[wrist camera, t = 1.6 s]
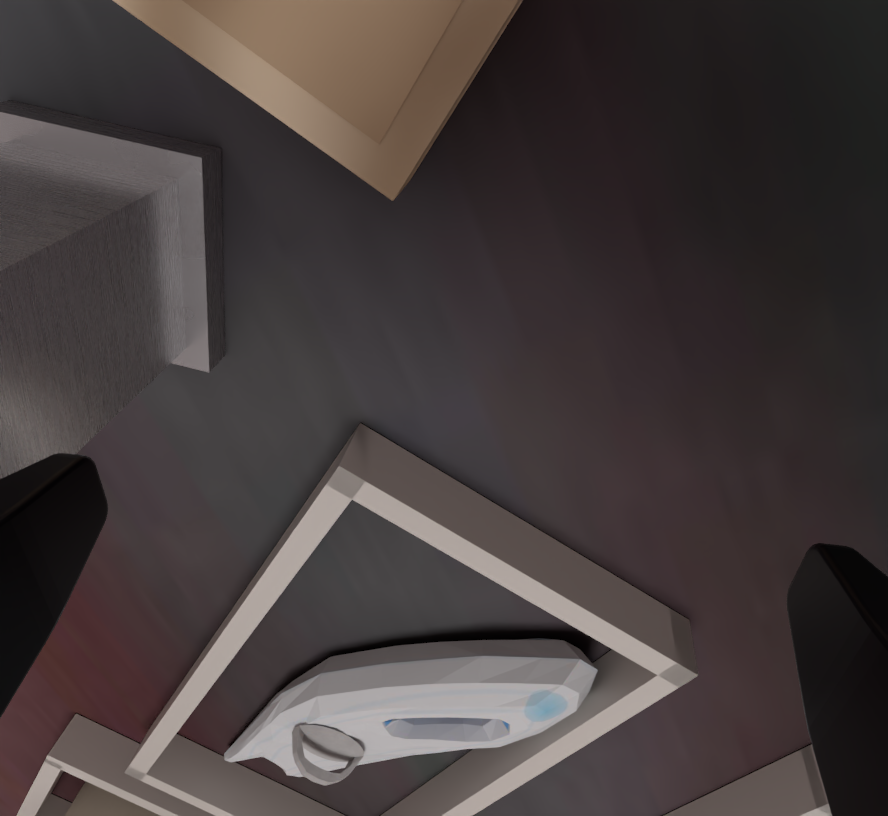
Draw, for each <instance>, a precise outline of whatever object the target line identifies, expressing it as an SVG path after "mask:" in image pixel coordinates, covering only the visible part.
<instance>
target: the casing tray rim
mask: <svg viewBox="0 0 888 816" xmlns="http://www.w3.org/2000/svg"><path fill="white" fill-rule="evenodd" d="M351 500H354V501H356V502H357V503H359V504H361V505H363V506H364V507H366V508H368V509H370V510H371V511H373V512H375V513H377V514H378V515H380V516H382V517H383V518H385V519H387V520H389V521H390V522H392V523H394V524H396V525H397V526H399V527H401V528H403V529H404V530H406V531H408V532H410V533H411V534H413V535H415V536H416V537H418V538H420V539H422V540H423V541H425V542H427V543H429V544H430V545H432V546H434V547H436V548H437V549H439V550H441V551H443V552H444V553H446V554H448V555H449V556H451V557H453V558H455V559H456V560H458V561H460V562H462V563H463V564H465V565H467V566H469V567H470V568H472V569H474V570H476V571H477V572H479V573H481V574H482V575H484V576H486V577H488V578H489V579H491V580H493V581H495V582H496V583H498V584H500V585H502V586H503V587H505V588H507V589H509V590H510V591H512V592H514V593H515V594H517V595H519V596H521V597H522V598H524V599H526V600H528V601H529V602H531V603H533V604H535V605H536V606H538V607H540V608H542V609H543V610H545V611H547V612H548V613H550V614H552V615H554V616H555V617H557V618H559V619H561V620H562V621H564V622H566V623H568V624H569V625H571V626H573V627H575V628H576V629H578V630H580V631H581V632H583V633H585V634H587V635H588V636H590V637H592V638H594V639H595V640H597V641H599V642H601V643H602V644H604V645H606V646H608V647H609V648H611V649H612V650H610V651H609V652H608V653H606V654H605V655H603V656H602V657H601V658H599V659H598V660H596V661H595V662H594V663H592V664H593V665H594V666H595V667H596V668H597V670H598V671H597V673H596V676H595V678H594V681H593V683H592V686H591V689H590V691H589V693H588V694H587V696H586V697H585V699H584V700H583V702H582V703H581V705H580V706H579V708H578V709H577V711H575V712H574V713H572V714H571V715H569V716H567V717H566V718H564V719H562V720H561V721H559V722H558V723H556V724H554V725H553V726H551V727H549V728H548V729H546V730H545V731H543V732H541V733H539V734H536V735H533V736H530V737H527V738H524V739H521V740H519V741H516V742H513V743H510V744H507V745H504V746H501V747H495V748H477V749H473V750H471V751H470V752H468V753H467V754H466V755H464V756H463V757H461V758H460V759H459V760H457V761H456V762H454V763H453V764H452V765H450V766H449V767H448V768H446V769H445V770H443V771H442V772H441V773H439V774H438V775H436V776H435V777H434V778H432V779H431V780H429V781H428V782H427V783H425V784H424V785H422V786H421V787H420V788H418V789H417V790H415V791H414V792H413V793H411V794H410V795H409V796H407V797H406V798H404V799H403V800H402V801H400V802H399V803H397V804H396V805H395V806H393V807H392V808H390V809H389V810H388V811H386V812H385V813H383V814H382V815H381V816H472V815H474V814H476V813H477V812H479V811H481V810H482V809H484V808H485V807H487V806H489V805H490V804H492V803H493V802H495V801H497V800H498V799H500V798H502V797H503V796H505V795H506V794H508V793H510V792H511V791H513V790H514V789H516V788H518V787H519V786H521V785H523V784H524V783H526V782H527V781H529V780H531V779H532V778H534V777H535V776H537V775H539V774H540V773H542V772H543V771H545V770H547V769H548V768H550V767H552V766H553V765H555V764H556V763H558V762H560V761H561V760H563V759H564V758H566V757H568V756H569V755H571V754H573V753H574V752H576V751H577V750H579V749H581V748H582V747H584V746H585V745H587V744H589V743H590V742H592V741H594V740H595V739H597V738H598V737H600V736H602V735H603V734H605V733H606V732H608V731H610V730H611V729H613V728H615V727H616V726H618V725H619V724H621V723H623V722H624V721H626V720H627V719H629V718H631V717H632V716H634V715H635V714H637V713H639V712H640V711H642V710H644V709H645V708H647V707H648V706H650V705H652V704H653V703H655V702H656V701H658V700H660V699H661V698H663V697H665V696H666V695H668V694H669V693H671V692H673V691H674V690H676V689H677V688H679V687H681V686H682V685H684V684H686V683H687V682H689V681H690V680H692V679H694V678H695V677H697V676H698V670H697V663H696V657H695V651H694V645H693V639H692V633H691V626H690V620H689V619H687V618H685V617H684V616H682V615H680V614H679V613H677V612H675V611H674V610H672V609H670V608H669V607H667V606H665V605H663V604H662V603H660V602H658V601H657V600H655V599H653V598H652V597H650V596H648V595H647V594H645V593H643V592H642V591H640V590H638V589H637V588H635V587H633V586H632V585H630V584H628V583H627V582H625V581H623V580H622V579H620V578H618V577H617V576H615V575H613V574H612V573H610V572H608V571H607V570H605V569H603V568H602V567H600V566H598V565H597V564H595V563H593V562H592V561H590V560H588V559H587V558H585V557H583V556H582V555H580V554H578V553H577V552H575V551H573V550H572V549H570V548H568V547H567V546H565V545H563V544H562V543H560V542H558V541H557V540H555V539H553V538H552V537H550V536H548V535H547V534H545V533H543V532H542V531H540V530H538V529H537V528H535V527H533V526H532V525H530V524H528V523H527V522H525V521H523V520H522V519H520V518H518V517H517V516H515V515H513V514H512V513H510V512H508V511H507V510H505V509H503V508H502V507H500V506H498V505H497V504H495V503H493V502H492V501H490V500H488V499H487V498H485V497H483V496H482V495H480V494H478V493H477V492H475V491H473V490H472V489H470V488H468V487H466V486H465V485H463V484H461V483H460V482H458V481H456V480H455V479H453V478H451V477H450V476H448V475H446V474H445V473H443V472H441V471H440V470H438V469H436V468H435V467H433V466H431V465H430V464H428V463H426V462H425V461H423V460H421V459H420V458H418V457H416V456H415V455H413V454H411V453H410V452H408V451H406V450H405V449H403V448H401V447H400V446H398V445H396V444H395V443H393V442H391V441H390V440H388V439H386V438H385V437H383V436H381V435H380V434H378V433H376V432H375V431H373V430H371V429H370V428H368V427H366V426H365V425H363V424H361V423H360V424H359V425H358V427H357V428H356V430H355V431H354V433H353V434H352V435H351V437H350V438H349V440H348V441H347V443H346V444H345V446H344V447H343V449H342V450H341V451H340V453H339V454H338V456H337V457H336V459H335V460H334V462H333V463H332V465H331V466H330V467H329V469H328V470H327V472H326V473H325V475H324V476H323V478H322V479H321V480H320V482H319V483H318V485H317V486H316V488H315V489H314V491H313V492H312V494H311V495H310V496H309V498H308V499H307V501H306V502H305V504H304V505H303V507H302V508H301V509H300V511H299V512H298V514H297V515H296V517H295V518H294V520H293V521H292V523H291V524H290V525H289V527H288V528H287V530H286V531H285V533H284V534H283V536H282V537H281V539H280V540H279V541H278V543H277V544H276V546H275V547H274V549H273V550H272V552H271V553H270V554H269V556H268V557H267V559H266V560H265V562H264V563H263V565H262V566H261V568H260V569H259V570H258V572H257V573H256V575H255V576H254V578H253V579H252V581H251V582H250V583H249V585H248V586H247V588H246V589H245V591H244V592H243V594H242V595H241V597H240V598H239V599H238V601H237V602H236V604H235V605H234V607H233V608H232V610H231V611H230V613H229V614H228V615H227V617H226V618H225V620H224V621H223V623H222V624H221V626H220V627H219V628H218V630H217V631H216V633H215V634H214V636H213V637H212V639H211V640H210V642H209V643H208V644H207V646H206V647H205V649H204V650H203V652H202V653H201V655H200V656H199V657H198V659H197V660H196V662H195V663H194V665H193V666H192V668H191V669H190V671H189V672H188V673H187V675H186V676H185V678H184V679H183V681H182V682H181V684H180V685H179V687H178V688H177V689H176V691H175V692H174V694H173V695H172V697H171V698H170V700H169V701H168V702H167V704H166V705H165V707H164V708H163V710H162V711H161V713H160V714H159V716H158V717H157V718H156V720H155V721H154V723H153V724H152V726H151V727H150V729H149V730H148V732H147V734H146V735H145V737H144V739H143V741H142V742H141V744H140V746H139V748H138V749H137V751H136V753H135V755H134V756H133V758H132V760H131V762H130V763H129V765H128V767H127V769H126V770H125V772H124V773H125V774H127V775H129V776H131V777H134V778H136V779H138V780H140V781H142V782H144V783H146V784H149V785H151V786H153V787H155V788H157V789H159V790H161V791H164V792H166V793H168V794H170V795H172V796H174V797H176V798H179V799H181V800H183V801H185V802H187V803H189V804H191V805H194V806H196V807H198V808H200V809H202V810H204V811H206V812H209V813H211V814H213V815H215V816H345V815H343V814H341V813H339V812H337V811H335V810H333V809H331V808H329V807H326V806H324V805H322V804H320V803H318V802H316V801H314V800H312V799H310V798H308V797H306V796H304V795H302V794H300V793H298V792H295V791H293V790H291V789H289V788H287V787H285V786H283V785H281V784H279V783H277V782H275V781H273V780H271V779H269V778H267V777H265V776H262V775H260V774H258V773H256V772H254V771H252V770H250V769H248V768H246V767H244V766H242V765H240V764H238V763H236V762H228V761H225V760H224V757H223V756H221V755H219V754H217V753H215V752H213V751H211V750H209V749H207V748H205V747H203V746H201V745H199V744H196V743H194V742H192V741H190V740H188V739H186V738H184V737H182V736H180V735H178V734H176V733H177V732H178V731H179V729H180V728H181V727H182V725H183V724H184V723H185V721H186V720H187V719H188V717H189V716H190V715H191V713H192V712H193V711H194V709H195V708H196V707H197V705H198V704H199V703H200V701H201V700H202V699H203V697H204V696H205V695H206V693H207V692H208V691H209V689H210V688H211V687H212V685H213V684H214V683H215V681H216V680H217V679H218V677H219V676H220V675H221V673H222V672H223V671H224V669H225V668H226V667H227V665H228V664H229V663H230V661H231V660H232V659H233V657H234V656H235V655H236V653H237V652H238V651H239V649H240V648H241V647H242V645H243V644H244V643H245V641H246V640H247V639H248V637H249V636H250V635H251V633H252V632H253V631H254V629H255V628H256V627H257V625H258V624H259V623H260V621H261V620H262V619H263V617H264V616H265V615H266V613H267V612H268V611H269V609H270V608H271V607H272V605H273V604H274V603H275V601H276V600H277V599H278V597H279V596H280V595H281V593H282V592H283V591H284V589H285V588H286V587H287V585H288V584H289V583H290V581H291V580H292V579H293V577H294V576H295V575H296V573H297V572H298V571H299V569H300V568H301V567H302V565H303V564H304V563H305V561H306V560H307V559H308V557H309V556H310V555H311V553H312V552H313V551H314V549H315V548H316V547H317V545H318V544H319V543H320V541H321V540H322V539H323V537H324V536H325V535H326V533H327V532H328V531H329V529H330V528H331V527H332V525H333V524H334V523H335V521H336V520H337V519H338V517H339V516H340V515H341V513H342V512H343V511H344V509H345V508H346V507H347V505H348V504H349V503H350V501H351Z"/></svg>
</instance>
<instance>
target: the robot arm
mask: <svg viewBox="0 0 888 816" xmlns="http://www.w3.org/2000/svg"><path fill="white" fill-rule="evenodd" d="M107 512H108V503H107V499H106V496H105V493H104V490H103V487H102V484H101V481H100V477H99V474H98V471H97V468H96V465H95V463H94V461H93V460H92V459H91V458H90V457H87V456H84V455H76V454H68V453H57V454H53V455H51V456H49V457H47V458H44V459H42V460H40V461H38V462H36V463H34V464H31V465H29V466H27V467H25V468H23V469H21V470H19V471H16V472H14V473H12V474H10V475H8V476H6V477H3V478H1V479H0V718H1V716H2V714H3V713H4V711H5V709H6V708H7V706H8V704H9V703H10V701H11V699H12V698H13V696H14V694H15V693H16V691H17V689H18V688H19V686H20V684H21V683H22V681H23V679H24V678H25V676H26V675H27V673H28V671H29V670H30V668H31V666H32V665H33V663H34V661H35V660H36V658H37V656H38V655H39V653H40V651H41V650H42V648H43V646H44V645H45V643H46V641H47V640H48V638H49V636H50V634H51V633H52V631H53V629H54V627H55V626H56V624H57V622H58V620H59V618H60V616H61V614H62V612H63V610H64V608H65V606H66V604H67V602H68V600H69V598H70V596H71V593H72V591H73V589H74V587H75V585H76V583H77V581H78V579H79V576H80V574H81V572H82V570H83V568H84V566H85V564H86V562H87V559H88V557H89V555H90V553H91V551H92V549H93V547H94V545H95V542H96V540H97V538H98V536H99V534H100V532H101V530H102V528H103V525H104V523H105V521H106V517H107ZM787 611H788V617H789V623H790V629H791V635H792V641H793V647H794V653H795V659H796V665H797V671H798V677H799V682H800V688H801V694H802V700H803V706H804V712H805V717H806V722H807V727H808V732H809V735H810V739H811V743H812V747H813V751H814V754H815V758H816V761H817V765H818V768H819V772H820V776H821V779H822V783H823V786H824V790H825V793H826V797H827V800H828V804H829V807H830V811H831V814H832V816H888V577H887V576H886V575H885V574H884V573H882V572H881V571H880V570H879V569H878V568H876V567H875V566H874V565H873V564H872V563H870V562H869V561H868V560H867V559H866V558H864V557H863V556H862V555H861V554H860V553H858V552H857V551H856V550H854V549H853V548H850V547H847V546H840V545H832V544H823V543H818V544H814V545H813V546H811V547H810V548H809V550H808V551H807V553H806V555H805V557H804V559H803V561H802V563H801V565H800V567H799V569H798V571H797V573H796V575H795V577H794V579H793V581H792V583H791V585H790V587H789V590H788V594H787Z"/></svg>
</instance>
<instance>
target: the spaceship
mask: <svg viewBox="0 0 888 816" xmlns="http://www.w3.org/2000/svg"><path fill="white" fill-rule="evenodd" d="M597 671H598V670H597V668H596V667H595V666H594V665H593V664H592V663H591V661H590V660H589V659H588V658H587V657H586V656H585V654H584V653H583V652H582V651H581V650H580V649H579V648H577V647H575V646H573V645H571V644H570V643H568V642H566V641H564V640H555V639H545V638H532V639H519V640H472V641H449V642H433V643H421V644H408V645H397V646H391V647H385V648H379V649H373V650H367V651H361V652H355V653H349V654H343V655H337V656H332V657H329V658H328V659H326V660H324V661H323V662H321V663H320V664H318V665H317V666H315V667H314V668H312V669H310V670H309V671H307V672H306V673H304V674H303V675H301V676H300V677H298V678H296V679H295V680H293V681H292V682H291V683H290V684H288V685H287V686H286V687H285V688H284V689H283V690H281V691H279V692H278V693H277V694H276V695H275V696H274V697H273V698H272V699H271V701H270V702H269V703H268V704H267V705H266V706H265V708H264V709H263V710H262V711H261V712H260V713H259V714H258V716H257V717H256V718H255V719H254V720H253V721H252V722H251V724H250V725H249V726H248V727H247V728H246V729H245V731H244V732H243V733H242V734H241V735H240V736H239V738H238V739H237V740H236V741H235V742H234V743H233V745H232V746H231V747H230V748H229V749H228V750H227V751H226V752H225V753H224V760H225V761H228V762H236V761H241V760H246V759H251V758H257V757H265V758H266V759H268V760H270V761H272V762H274V763H275V764H277V765H278V766H280V767H281V768H283V770H284V772H285V773H286V774H287V775H290V776H296V777H303V776H304V777H306V778H307V779H309V780H311V781H312V782H315V783H318V784H321V785H329V784H333V783H337V782H340V781H341V780H343V779H344V778H346V777H347V776H348V775H349V774H350V773H351V772H352V770H353V769H354V768H355V767H356V765H361V764H367V763H372V762H378V761H383V760H388V759H394V758H399V757H405V756H410V755H419V754H430V753H440V752H447V751H454V750H462V749H477V748H495V747H501V746H504V745H507V744H510V743H513V742H516V741H519V740H521V739H524V738H527V737H530V736H533V735H536V734H539V733H541V732H543V731H545V730H546V729H548V728H549V727H551V726H553V725H554V724H556V723H558V722H559V721H561V720H562V719H564V718H566V717H567V716H569V715H571V714H572V713H574V712H575V711H577V709H578V708H579V706H580V705H581V703H582V702H583V700H584V699H585V697H586V696H587V694H588V693H589V691H590V689H591V686H592V683H593V681H594V678H595V676H596V673H597ZM341 768H345V769H344V770H343V771H342V772H341V773H340V774H338V773H332V772H329V771H331V770H336V769H341Z"/></svg>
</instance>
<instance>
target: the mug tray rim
mask: <svg viewBox="0 0 888 816" xmlns="http://www.w3.org/2000/svg"><path fill="white" fill-rule="evenodd" d="M139 746H140V744H139V743H137V742H135V741H133V740H131V739H129V738H126V737H124V736H122V735H120V734H118V733H116V732H114V731H112V730H110V729H108V728H106V727H103V726H101V725H99V724H97V723H95V722H93V721H91V720H89V719H87V718H85V717H82V716H80V715H78V714H75V716H74V717H73V719H72V720H71V722H70V723H69V725H68V726H67V727H66V729H65V730H64V732H63V733H62V735H61V736H60V738H59V739H58V741H57V742H56V744H55V745H54V747H53V748H52V749H51V751H50V752H49V754H48V755H47V757H46V759H45V761H44V763H43V765H42V767H41V769H40V771H39V773H38V775H37V777H36V779H35V781H34V783H33V785H32V787H31V789H30V790H29V792H28V794H27V796H26V798H25V800H24V802H23V804H22V806H21V808H20V810H19V812H18V814H17V816H65V814H66V813H67V811H68V809H69V808H70V806H71V804H72V803H70V802H68V801H66V800H64V799H62V798H59V797H57V796H55V795H53V794H51V793H52V791H53V789H54V787H55V786H56V784H57V782H58V780H59V779H60V777H61V775H62V773H63V771H65V772H67V773H69V774H71V775H73V776H76V777H78V778H80V779H82V780H84V781H86V782H89V783H91V784H93V785H95V786H97V787H99V788H102V789H104V790H106V791H108V792H110V793H112V794H115V795H117V796H119V797H121V798H123V799H125V800H128V801H130V802H132V803H134V804H136V805H139V806H141V807H143V808H145V809H147V810H149V811H152V812H154V813H156V814H158V815H160V816H215V815H213V814H211V813H209V812H206V811H204V810H202V809H200V808H198V807H196V806H194V805H191V804H189V803H187V802H185V801H183V800H181V799H179V798H176V797H174V796H172V795H170V794H168V793H166V792H164V791H161V790H159V789H157V788H155V787H153V786H151V785H149V784H146V783H144V782H142V781H140V780H138V779H136V778H134V777H131V776H129V775H127V774H125V773H124V772H125V770H126V769H127V767H128V765H129V763H130V762H131V760H132V758H133V756H134V755H135V753H136V751H137V749H138V748H139Z"/></svg>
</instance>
